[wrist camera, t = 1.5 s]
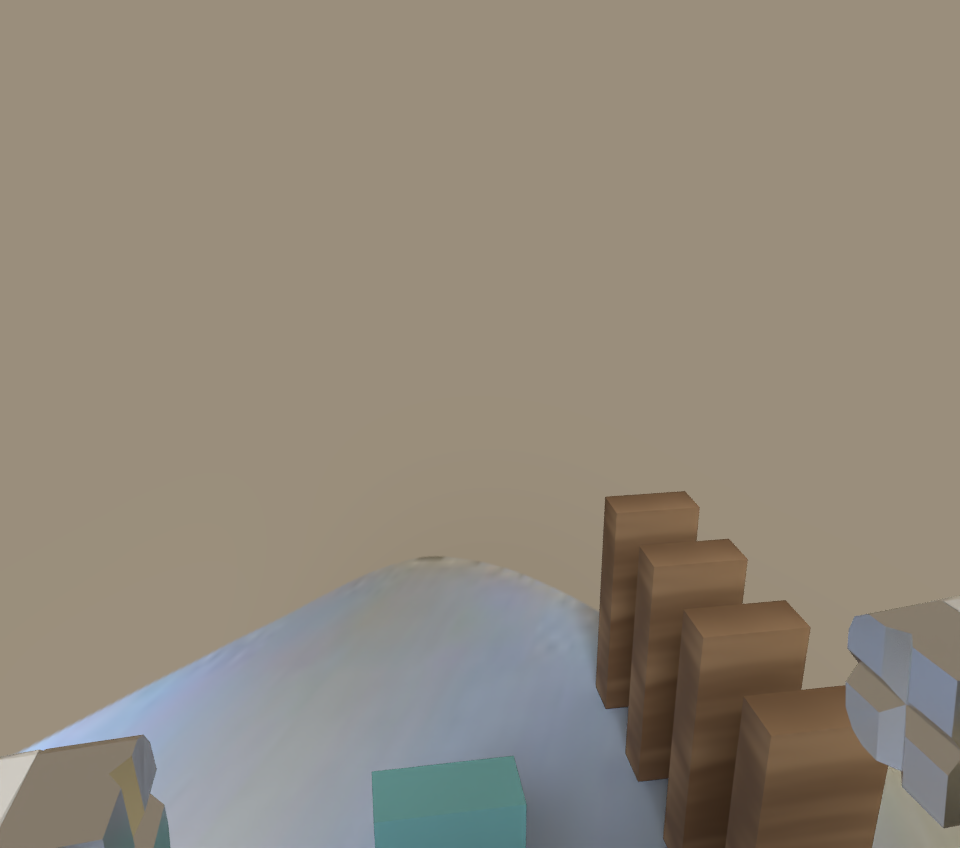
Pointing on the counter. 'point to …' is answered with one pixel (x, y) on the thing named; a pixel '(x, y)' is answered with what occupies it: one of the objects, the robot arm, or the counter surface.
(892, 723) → the robot arm
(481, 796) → the domino
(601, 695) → the domino
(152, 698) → the counter surface
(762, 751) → the domino
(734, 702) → the domino
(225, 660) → the counter surface
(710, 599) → the domino
